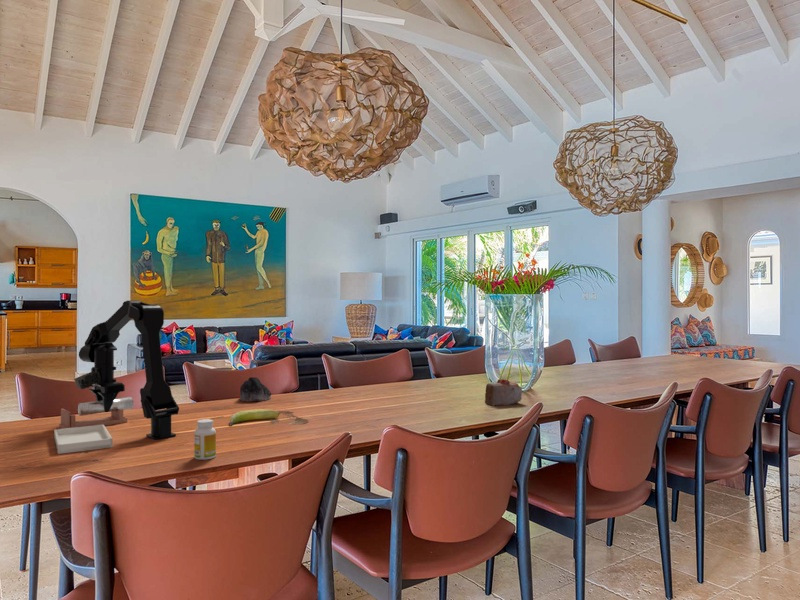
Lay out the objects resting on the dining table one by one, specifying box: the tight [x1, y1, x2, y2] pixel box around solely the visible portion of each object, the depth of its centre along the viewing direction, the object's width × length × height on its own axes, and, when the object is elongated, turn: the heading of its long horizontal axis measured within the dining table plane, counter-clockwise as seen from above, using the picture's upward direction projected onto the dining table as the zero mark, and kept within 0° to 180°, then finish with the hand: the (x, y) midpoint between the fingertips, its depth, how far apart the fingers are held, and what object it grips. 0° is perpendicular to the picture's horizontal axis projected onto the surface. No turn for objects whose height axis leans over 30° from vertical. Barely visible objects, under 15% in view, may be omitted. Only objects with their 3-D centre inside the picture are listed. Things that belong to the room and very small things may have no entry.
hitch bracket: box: [58, 407, 128, 429], centre depth 192 cm, size 18×7×6 cm, turn 137°
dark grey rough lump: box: [239, 376, 272, 402], centre depth 240 cm, size 13×14×10 cm
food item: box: [484, 378, 523, 407], centre depth 234 cm, size 14×8×10 cm, turn 116°
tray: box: [53, 424, 114, 455], centre depth 170 cm, size 21×13×2 cm, turn 33°
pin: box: [77, 396, 134, 417], centre depth 195 cm, size 16×4×4 cm, turn 137°
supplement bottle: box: [193, 418, 217, 461], centre depth 156 cm, size 5×5×10 cm
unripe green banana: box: [210, 408, 309, 432], centre depth 200 cm, size 35×27×4 cm
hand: (104, 411), depth 194 cm, fingers closed on pin, 4 cm apart
